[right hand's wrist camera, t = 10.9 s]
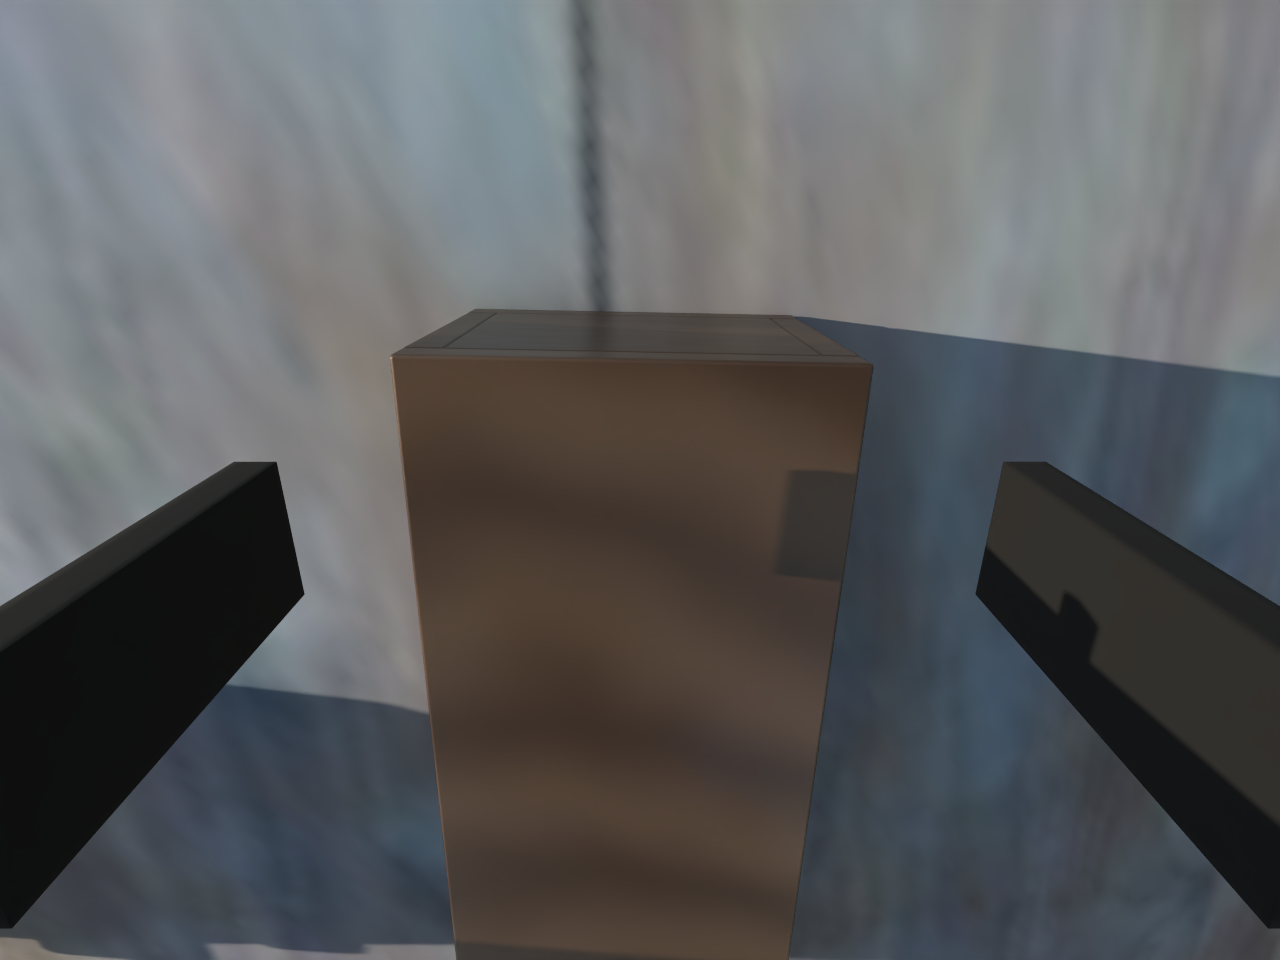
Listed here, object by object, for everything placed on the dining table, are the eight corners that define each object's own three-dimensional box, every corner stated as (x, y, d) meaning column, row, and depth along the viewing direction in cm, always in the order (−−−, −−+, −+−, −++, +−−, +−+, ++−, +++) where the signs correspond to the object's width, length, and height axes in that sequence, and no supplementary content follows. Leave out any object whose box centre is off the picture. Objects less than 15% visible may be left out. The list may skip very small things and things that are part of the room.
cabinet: (743, 810, 30) (781, 1014, 22) (506, 807, 30) (461, 1011, 22) (792, 315, 22) (875, 363, 15) (474, 309, 22) (388, 354, 14)
